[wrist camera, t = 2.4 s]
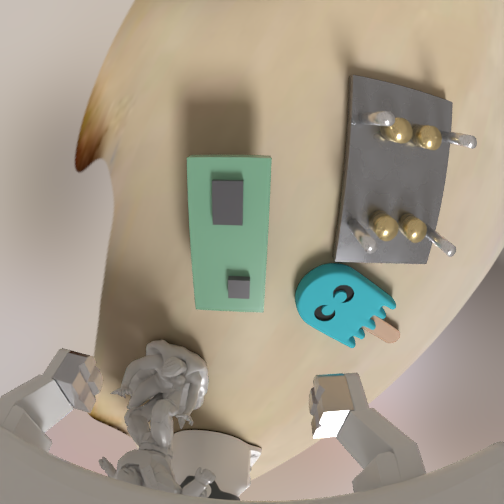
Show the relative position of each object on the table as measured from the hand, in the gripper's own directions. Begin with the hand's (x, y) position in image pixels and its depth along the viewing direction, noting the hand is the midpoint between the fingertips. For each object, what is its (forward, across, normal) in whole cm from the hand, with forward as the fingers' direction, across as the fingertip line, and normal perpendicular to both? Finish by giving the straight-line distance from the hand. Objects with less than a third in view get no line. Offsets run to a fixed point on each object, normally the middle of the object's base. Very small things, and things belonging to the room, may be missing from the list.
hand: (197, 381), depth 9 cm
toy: (+17, +13, -10) cm, 24 cm away
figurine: (+17, -9, -21) cm, 29 cm away
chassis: (+17, +14, +5) cm, 22 cm away
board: (+14, 0, 0) cm, 14 cm away
